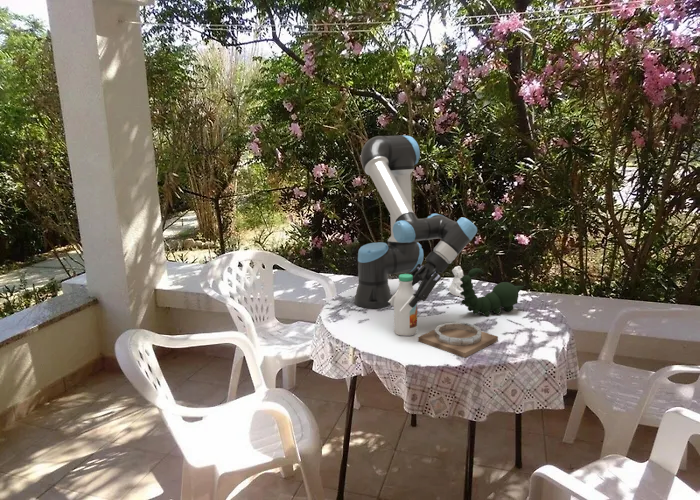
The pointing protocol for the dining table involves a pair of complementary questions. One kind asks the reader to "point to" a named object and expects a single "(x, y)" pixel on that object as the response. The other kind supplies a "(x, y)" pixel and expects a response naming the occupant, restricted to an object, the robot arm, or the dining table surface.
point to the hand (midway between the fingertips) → (396, 308)
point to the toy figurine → (488, 296)
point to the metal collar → (458, 341)
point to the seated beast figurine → (456, 282)
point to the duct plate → (455, 349)
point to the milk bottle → (403, 294)
